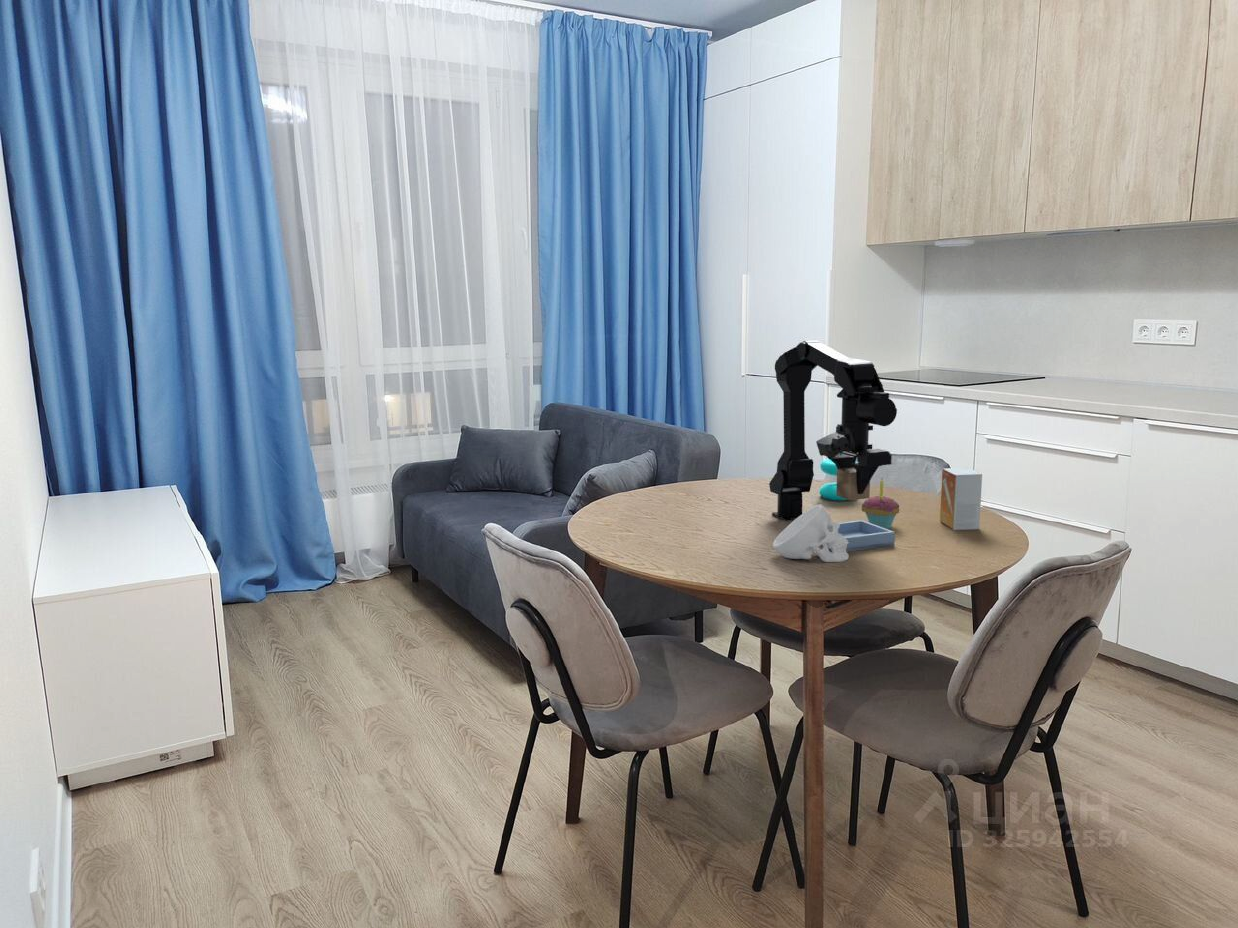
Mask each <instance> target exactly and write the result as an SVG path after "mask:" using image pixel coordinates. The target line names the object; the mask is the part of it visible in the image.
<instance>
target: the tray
mask: <svg viewBox="0 0 1238 928" xmlns="http://www.w3.org/2000/svg"><path fill="white" fill-rule="evenodd" d="M838 523H839V524H840V526H839V528H838V533H841V534H842V536H843V537H844V538H846V539H847V540H848V542H849V544H847V548H846V552H847V553H848V552H855V551H862V550H872V549H877V548H885V547H893V546H895V539H896V537H895V534H896V532H895V531H893V530H890V529H889V528H888V529H885V528H883V527H880V526H877V525H875V524H872V523H869V521H866V520H864V519H861V520H852V521H844V522H843V521H842V522H838Z"/></svg>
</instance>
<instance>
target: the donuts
mask: <svg viewBox="0 0 1238 928" xmlns="http://www.w3.org/2000/svg"><path fill="white" fill-rule="evenodd" d="M855 463H858V461H856V462H855ZM819 465H820V466H819V467H820V470H821V471H822V472H823V473H825V474H827V475H828V476H829V475H830V476H835V477H837V467H836V465H835V463H833V462H832V461H831V460H830V459H828V458H827V459H825V460H822V461H821V463H820V464H819ZM836 491H837V482H829V483H825V484H823V485H822V486H821V487H820V489H819V495H820V496H821V497H822V498H824V499H825V500H829V501H830V500H831V501H838V502H839V501H848V500H847V499H844V498H841V497H839V496H836Z"/></svg>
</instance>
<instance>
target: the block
mask: <svg viewBox="0 0 1238 928" xmlns="http://www.w3.org/2000/svg"><path fill="white" fill-rule="evenodd" d="M836 483H837V491H836V496H839V497H841V498H844V499H847V500H846V501H856V500H857V501H858V500H864V499H865V500H867V499H869V498H870V488H871V487H870V486H871V481H870V482H869V483H868V485H867V487H866V489H865V491H864V493H863V494H858V490H857V475H856V470H855V468H854V467H851V468H841V469H837V476H836Z"/></svg>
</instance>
